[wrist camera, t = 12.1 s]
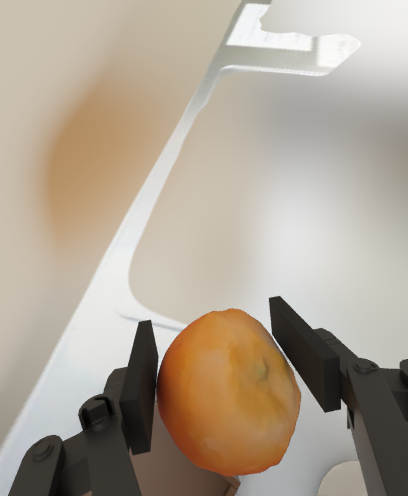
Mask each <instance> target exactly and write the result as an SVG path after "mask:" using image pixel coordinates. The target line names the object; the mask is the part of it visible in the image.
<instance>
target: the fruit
mask: <svg viewBox="0 0 408 496" xmlns="http://www.w3.org/2000/svg"><path fill="white" fill-rule="evenodd" d="M156 395H157V405H158V411H159V414H160V417H161V419H162V421H163V423H164V425H165V427H166V429H167V430H168V432H169V434H170V436H171V437H172V439H173V441H174V442H175V444H176V446H177V447H178V448H179V449H180V451H181V452H182V453H183V454H184V455H185V456H186V457H187V458H188V459H189V460H190V461H191V462H192V463H193V464H194V465H196V466H198V467H199V468H202V469H206V470H210V471H213V472H216V473H219V474H221V475H224V476H228V477H231V476H235V475H248V474H255V473H260V472H263V471H265V470H267V469H268V468H269V467H271V466H274V465H277V464H279V463H280V461H281V459H282V458H283V456H284V454H285V453H286V450H287V448H288V446H289V442H290V439H291V436H292V435H293V433H294V430H295V425H296V421H297V418H298V415H299V410H300V401H301V392H300V390H299V388H298V385H297V383H296V380H295V376H294V373H293V370H292V369H291V367H290V366H289V364H288V362H287V360H286V359H285V357H284V355H283V354H282V352H281V351H280V349H279V347H278V346H277V344H276V343H275V341H274V340H273V338H272V337H271V335H270V334H269V332H268V331H267V330H266V329H265V328H264V327H263V325H262V324H261V323H260V322H259V321H258V320H256V319H255V318H253V317H251V316H250V315H249V314H247V313H246V312H244V311H242V310H239V309H228V310H225V311H212V312H210V313H207V314H205V315H203V316H202V317H200V318H199V319H197V320H195V321H194V322H192V323H191V324H190V325H188V326H187V327H186V328H185V329H184V330H183V331H182V332H181V333H180V334H179V335H178V336H177V337H176V338H175V339H174V341H173V342H172V344H171V345H170V347H169V348H168V350H167V351H166V353H165V355H164V358H163V360H162V363H161V366H160V369H159V373H158V377H157V384H156Z"/></svg>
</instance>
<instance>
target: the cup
mask: <svg viewBox="0 0 408 496" xmlns="http://www.w3.org/2000/svg"><path fill="white" fill-rule="evenodd" d="M317 496H368V494H367V490H366V486H365V482H364V478H363V474H362V470H361V466H360V463H359V461H356V460H355V461H347V462H343V463H340V464H338V465H336V466H334V467H333V468H332V469H331V470H330V471H329V472H328V473H327V474H326V475H325V477H324V478H323V480H322V482H321V484H320V487H319V490H318V493H317Z"/></svg>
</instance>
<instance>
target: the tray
mask: <svg viewBox="0 0 408 496" xmlns="http://www.w3.org/2000/svg"><path fill="white" fill-rule="evenodd" d="M129 455H130V458H131V462H132V465H133V468H134V471H135V475H136V478H137V481H138V484H139V488H140V491H141V494H142V496H234V495H235V493H236V491H237V489H238V487H239V486H240V481H239V479H238V477H237V476H236V475H235V476H231V477H228V476H224V475H221V474H219V473H216V472H213V471H210V470H206V469H202V468H199V467H198V466H196V465H194V464H193V463H192V462H191V461H190V460H189V459H188V458H187V457H186V456H185V455H184V454H183V453H182V452H181V451H180V449H179V448H178V447H177V446H176V444H175V442H174V441H173V439H172V437H171V436H170V434H169V432H168V430H167V429H166V427H165V425H164V423H163V421H162V419H161V417H160V414H159V411H158V405H157V402H156V401H155V404H154V416H153V428H152V440H151V452H147V453H142V454H138V455H132V451H131V448H130V450H129ZM82 496H92V491H89V492H88V493H86V494H84V495H82Z"/></svg>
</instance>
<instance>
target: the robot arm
mask: <svg viewBox="0 0 408 496" xmlns="http://www.w3.org/2000/svg"><path fill="white" fill-rule="evenodd" d="M269 305H270V316H271V327H272V335H273V336H274V338H275V339H276V341H277V342H278V344H279V345H280V347H281V348H282V350H283V351H284V353H285V354H286V356H287V357H288V359H289V360H290V362H291V363H292V365H293V366H294V368H295V369H296V370H297V372H298V373H299V375H300V376H301V378H302V379H303V381H304V382H305V384H306V385H307V387H308V388H309V390H310V391H311V393H312V394H313V396H314V397H315V399H316V400H317V402H318V403H319V405H320V406H321V408H322V409H323V410H324V412H325V413H326V412H331V411H335V410H340V409H341V399H342V400H343V402H344V403H345V404H346V405H347V429H350V427H351V431H352V435H353V439H354V443H355V447H356V451H357V455H358V459H359V463H360V466H361V470H362V474H363V478H364V482H365V486H366V490H367V494H368V496H408V359H406V360H402V361H401V362H400V369H384V368H379V366H378V365H377V364H375V363H374V362H372V361H370V360H367V359H363V358H358V357H357V356H356V355H355V354H354V353H353V352H352V351H351V350H349V349H348V348H347V347H346V346H345V345H344V344H342V343H341V341H340V340H339V339H337V338H336V337H335V336H334V335H333V334H332V333H331V332H329V331H327V330H325V329H323V328H319V329H314V330H313V329H312V328H311V327H310V326H309V325H308V324H307V323H306V322H305V321H304V320H303V319H302V318H301V317H300V316H299V315H298V314H297V313H296V312H295V311H294V310H293V309H292V308H291V307H290V306H289V305H288V304H287V303H286V302H285V301H284V300H283V299H282V298H281V297H280V296H277V297H272V298H269ZM157 368H158V352H157V347H156V342H155V338H154V333H153V328H152V323H151V320H147V321H141V322H139V323H138V327H137V331H136V335H135V339H134V343H133V347H132V351H131V355H130V359H129V363H128V367H124V368H119V369H114V371H113V372H112V373H111V374H110V376H109V377H108V379H107V382H106V386H105V388H104V392H103V394H99V395H96V396H94V397H92V398H90V399H88V400H87V401H86V402H85V403H84V404H83V405H82V406H81V408H80V410H79V414H78V416H79V419H80V422H81V426H82V429H83V431H82V432H81V433H79V434H77V435H75V436H73V437H71V438H69V439H67V440H65V441H63V442H62V439H61V438H60V437H59V436H57V435H51V436H47V437H45V438H43V439H40V440H39V441H38V442H36V443H35V444H33V445H32V446H31V448H30V449H29V450H28V451H27V452H26V454H25V456H24V457H23V459H22V462H21V464H20V467H19V470H18V472H17V475H16V477H15V480H14V482H13V485H12V487H11V490H10V492H9V495H8V496H82V495H84V494H86V493H88V492H89V491H92V496H142V494H141V491H140V488H139V484H138V481H137V478H136V475H135V471H134V468H133V465H132V462H131V458H130V455H129V450H130V448H131V451H132V455H138V454H142V453H147V452H151V440H152V428H153V416H154V404H155V392H156V380H157Z"/></svg>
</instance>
